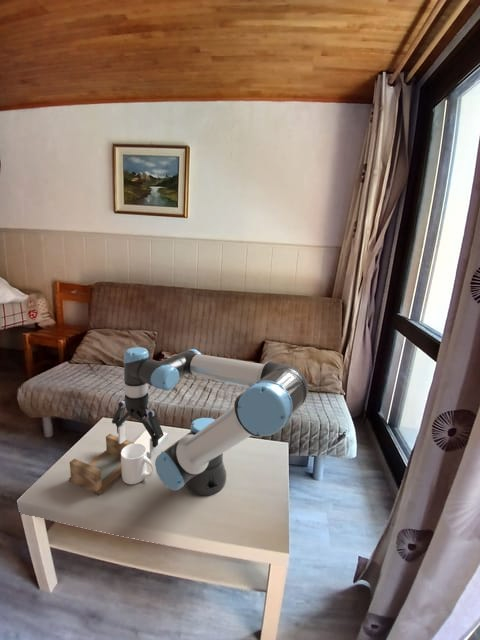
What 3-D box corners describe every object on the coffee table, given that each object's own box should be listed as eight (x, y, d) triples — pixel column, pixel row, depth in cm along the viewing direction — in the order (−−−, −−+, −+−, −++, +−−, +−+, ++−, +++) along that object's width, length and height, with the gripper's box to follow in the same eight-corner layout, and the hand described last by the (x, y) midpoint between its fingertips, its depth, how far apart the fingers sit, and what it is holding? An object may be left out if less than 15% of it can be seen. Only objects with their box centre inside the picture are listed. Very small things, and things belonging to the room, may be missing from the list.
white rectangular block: (167, 438, 134) (167, 432, 133) (151, 459, 120) (151, 453, 120) (147, 433, 136) (147, 428, 135) (128, 453, 123) (128, 447, 122)
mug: (146, 490, 105) (145, 464, 103) (116, 481, 109) (115, 455, 106) (159, 473, 113) (159, 448, 111) (131, 465, 117) (130, 440, 114)
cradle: (136, 461, 118) (136, 443, 116) (99, 495, 102) (98, 474, 100) (108, 450, 123) (107, 433, 121) (69, 481, 107) (67, 461, 105)
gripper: (174, 397, 102) (173, 452, 107) (116, 380, 111) (117, 431, 116) (160, 408, 95) (160, 465, 100) (99, 388, 104) (101, 442, 109)
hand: (137, 447), depth 108 cm, fingers open, 13 cm apart
